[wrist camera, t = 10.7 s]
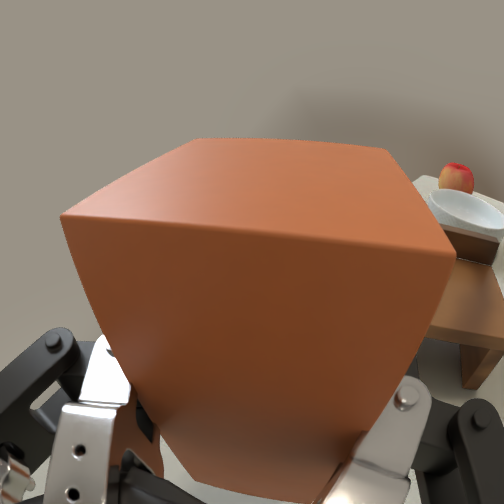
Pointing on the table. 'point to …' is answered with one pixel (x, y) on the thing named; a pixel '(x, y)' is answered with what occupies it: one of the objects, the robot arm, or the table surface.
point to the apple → (456, 178)
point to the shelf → (472, 306)
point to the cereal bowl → (466, 212)
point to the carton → (262, 300)
